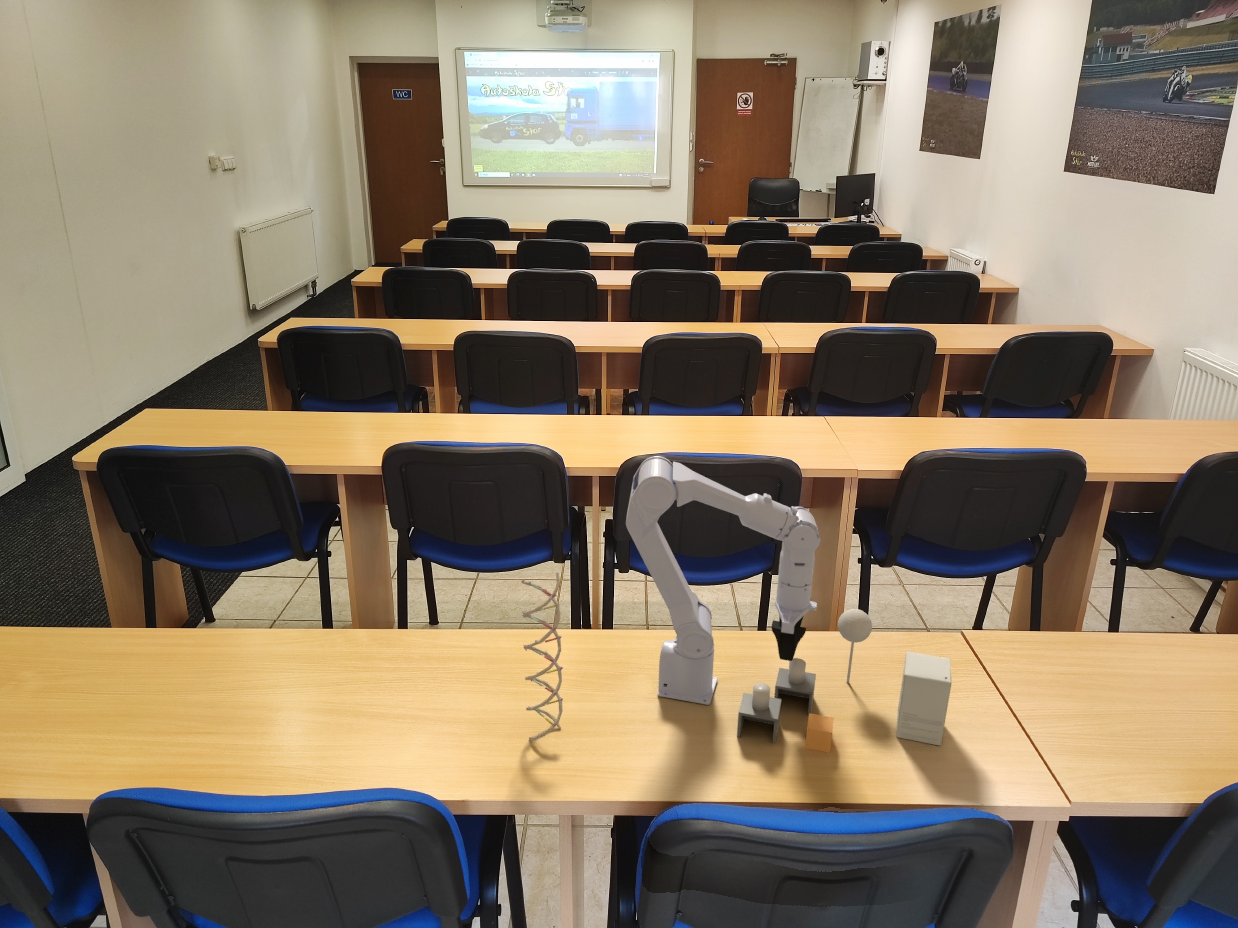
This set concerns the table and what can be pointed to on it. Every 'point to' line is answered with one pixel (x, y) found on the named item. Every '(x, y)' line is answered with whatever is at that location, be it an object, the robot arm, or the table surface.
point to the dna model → (546, 656)
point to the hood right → (796, 681)
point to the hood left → (760, 708)
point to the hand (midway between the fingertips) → (788, 646)
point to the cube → (819, 732)
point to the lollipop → (854, 629)
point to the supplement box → (924, 698)
